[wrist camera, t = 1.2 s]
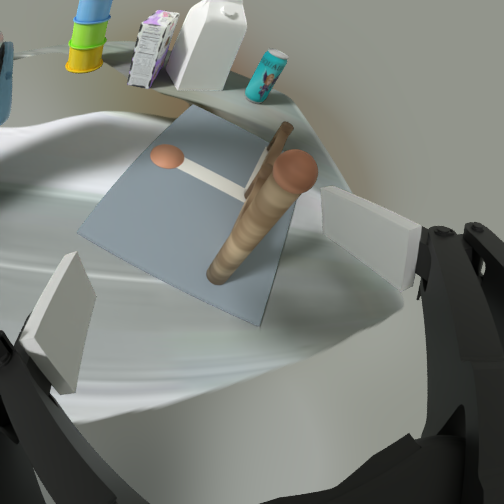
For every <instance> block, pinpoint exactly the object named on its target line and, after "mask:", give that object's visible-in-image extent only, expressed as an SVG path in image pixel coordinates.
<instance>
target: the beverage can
mask: <svg viewBox="0 0 504 504" xmlns="http://www.w3.org/2000/svg"><path fill="white" fill-rule="evenodd" d="M287 59H288V56H287V55H286V54H284V53H283V52H281V51H279V50H276V49H273V48H269V49H268V51H267V52H265V54H264V55H263V57H262V59H261V61H260V63H259V65H258V67H257V69H256V71H255V72H254V74H253V76H252V78H251V80H250V82H249V84H248V86H247V88H246V90H245V97H246V99H247V100H248V101H250V102H252V103H255V104H260V103H261V102H263V101H264V100H265V99H266V98H267V96H268V94H269V92H270V91H271V89H272V87H273V85H274V84H275V82H276V80H277V79H278V77H279V75H280V73H281V72H282V70H283V69H284V67H285V65H286V64H287Z"/></svg>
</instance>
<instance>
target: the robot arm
mask: <svg viewBox="0 0 504 504" xmlns="http://www.w3.org/2000/svg"><path fill="white" fill-rule="evenodd" d="M13 51H14V49H13V43H12V42H4V43H3V34H2V32H1V31H0V125H2V124H3V123H4V122H5V121H6V120H7V119H8V118H9V115H10V112H11V103H12V102H11V101H12V71H13V70H12V69H13V53H14V52H13ZM320 189H321V204H322V223H323V234H324V235H325V236H327V237H328V238H330V239H331V240H332V241H334V242H335V243H337V244H338V245H339V246H341V247H342V248H343V249H345V250H346V251H348V252H349V253H350V254H352V255H353V256H354V257H356V258H357V259H358V260H360V261H361V262H362V263H364V264H365V265H366V266H368V267H369V268H370V269H372V270H373V271H374V272H376V273H377V274H378V275H380V276H381V277H382V278H383V279H385V280H386V281H387V282H389V283H390V284H391V285H392V286H394V287H395V288H396V289H398V290H399V291H400V292H402V291H404V290H406V289H408V288H410V287H412V286H413V283H414V278H415V273H416V274H418V275H419V276H420V277H421V281H420V286H419V291H418V296H417V300H419V298H420V296H421V298H422V306H423V314H424V324H425V335H426V350H427V372H428V373H427V375H428V401H427V419H426V424H425V427H424V430H423V432H422V436H421V438H419V439H415V440H414V439H413V438H412V436H411V435H410V434H409V433H408V434H407V435H405V436H404V437H403V438H401V439H399V440H398V441H396V442H395V443H393V444H391V445H390V446H388V447H387V448H385V449H383V450H382V451H380V452H378V453H377V454H375V455H373V456H372V457H371V458H370V459H369V460H368V461H366V462H365V463H364V464H363V465H362V466H361V467H360V468H358V469H357V470H356V471H355V472H354V473H352V474H351V475H350V476H349V477H348V478H347V479H345V480H344V481H343V482H341V483H340V484H339V485H338V486H336V487H334V488H332V489H328V490H324V491H319V492H313V493H308V494H302V495H295V496H288V497H280V498H277V499H273V500H270V501H267V502H264V503H260V504H504V242H502V241H501V240H500V239H499V238H498V237H497V236H496V235H495V234H494V233H493V232H492V231H491V230H489V229H488V228H487V227H485V226H484V225H482V224H481V223H477V222H474V223H472V222H470V223H466V224H465V228H464V234H459V235H457V234H456V233H455V231H453V230H452V229H450V228H447V227H444V226H433V227H430V228H429V229H426V228H425V227H423V226H421V225H419V224H417V223H415V222H413V221H411V220H409V219H407V218H405V217H403V216H401V215H399V214H397V213H395V212H392V211H390V210H388V209H386V208H384V207H382V206H379V205H377V204H375V203H373V202H370V201H368V200H366V199H364V198H361V197H359V196H356V195H354V194H352V193H350V192H347V191H345V190H342V189H340V188H337V187H335V186H327V187H322V188H320ZM483 261H484V262H485V267H486V269H485V273H484V275H482V273H481V269H482V265H483ZM96 297H97V296H96V294H95V292H94V290H93V287H92V285H91V283H90V281H89V278H88V276H87V274H86V272H85V269H84V267H83V265H82V262H81V260H80V257H79V255H78V252H77V251H76V252H73V253H70V254H67V255H65V256H64V257H63V259H62V261H61V262H60V264H59V265H58V267H57V269H56V270H55V272H54V274H53V275H52V277H51V279H50V280H49V282H48V284H47V286H46V287H45V289H44V291H43V293H42V295H41V296H40V298H39V300H38V302H37V304H36V306H35V308H34V310H33V311H32V312H31V313H30V315H29V316H28V317H27V319H26V321H25V323H24V326H23V327H22V329H21V332H20V334H19V336H18V338H17V340H16V342H15V345H14V346H13V345H12V344H11V342H10V341H9V339H8V338H7V336H6V335H5V333H4V332H3V331H2V330H0V504H46V503H45V500H44V498H43V495H42V493H41V490H40V487H39V484H38V482H37V478H36V475H35V472H34V470H35V471H36V473H37V475H38V477H39V478H40V480H41V481H42V483H43V485H44V486H45V488H46V490H47V491H48V493H49V494H50V496H51V497H52V498H53V500H54V502H55V503H56V504H150V503H148V502H147V501H146V500H145V499H144V498H142V497H141V496H140V495H139V494H138V493H137V492H136V491H135V490H134V489H132V488H131V487H130V486H129V485H128V484H127V483H126V482H125V481H124V480H123V479H122V478H121V477H120V476H119V475H118V474H116V472H115V471H114V470H113V469H112V468H111V467H110V466H109V465H108V464H107V463H106V462H105V461H104V460H103V459H102V458H101V457H100V456H99V454H98V453H97V452H96V451H95V450H94V449H93V448H92V446H91V445H90V444H89V443H88V442H87V441H86V439H85V438H84V437H83V436H82V435H81V433H80V432H79V431H78V429H77V428H76V427H75V426H74V424H73V423H72V422H71V420H70V419H69V418H68V416H67V415H66V414H65V412H64V411H63V410H62V408H61V407H60V405H59V404H58V402H57V401H56V399H55V398H54V397H53V396H52V395H51V394H50V389H51V385H52V386H53V387H54V388H55V390H56V391H57V392H58V393H59V394H60V395H64V394H71V393H76V387H77V381H78V375H79V369H80V364H81V359H82V354H83V349H84V345H85V340H86V336H87V332H88V327H89V323H90V319H91V315H92V312H93V308H94V304H95V301H96ZM33 468H34V469H33Z"/></svg>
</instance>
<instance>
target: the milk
mask: <svg viewBox="0 0 504 504" xmlns="http://www.w3.org/2000/svg"><path fill="white" fill-rule="evenodd" d="M246 30H247V21H246V17H245V12H244V8H243V0H202V1H201V2H199V3H198V4H196V5H194V6H193V7H192V8H191V9H190V11H189V12H188V14H187V16H186V19H185V21H184V23H183V25H182V28H181V30H180V32H179V35H178V37H177V40H176V42H175V45H174V47H173V50H172V52H171V55H170V57H169V60H168V63H167V65H166V68H165V69H166V71H167V73H168V75H169V76H170V78H171V80H172V81H173V83H174V85H175V87H176V88H177V90H212V91H222V90H223V87H224V85H225V82H226V79H227V77H228V74H229V72H230V69H231V67H232V64H233V62H234V59H235V57H236V54H237V52H238V50H239V47H240V45H241V42H242V40H243V38H244V35H245V33H246Z"/></svg>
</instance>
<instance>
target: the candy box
mask: <svg viewBox="0 0 504 504" xmlns="http://www.w3.org/2000/svg"><path fill="white" fill-rule="evenodd" d="M178 18H179V13H174V12H169V11H162V10H157V11H156V12H155V13H154V14H152V15H151V16H150V17H148V18H147V19H146V20H145V21H143V22H142V23H141V26H140V29H139V33H138V37H137V41H136V45H135V49H134V53H133V58H132V62H131V67H130V72H129V77H128V82H127V85H131V86H136V87H141V88H146V89H149V88H150V87H151V85H152V83H153V82H154V80H155V78H156V77H157V75H158V73H159V71H160V70H161V68H162V67H163V65H164V61H165V58H166V54H167V51H168V48H169V45H170V41H171V38H172V35H173V32H174V29H175V26H176V23H177V20H178Z"/></svg>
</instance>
